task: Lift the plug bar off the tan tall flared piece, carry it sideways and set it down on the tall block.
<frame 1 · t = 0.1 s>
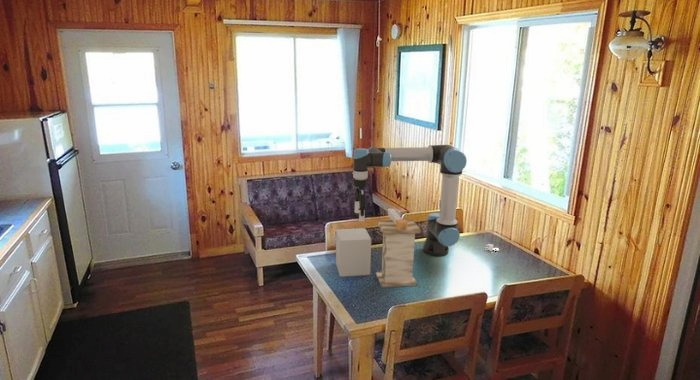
hand: (359, 217, 239), 28 cm above the table, tool pointing down, fingers open, 13 cm apart
tall block: (352, 268, 242), on the table
tan tall flared piece: (396, 280, 231), on the table
teacup and saucer: (493, 253, 267), on the table
plug bar: (396, 221, 227), point 30 cm above the table, touching tan tall flared piece
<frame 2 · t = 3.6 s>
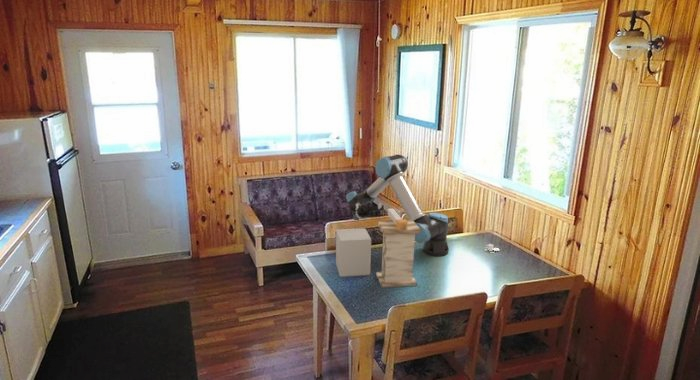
hand: (369, 204, 258), 29 cm above the table, tool pointing upward, fingers open, 13 cm apart
nothing on the table moved.
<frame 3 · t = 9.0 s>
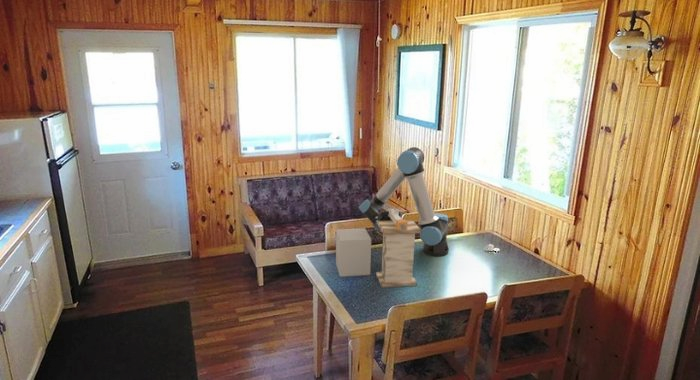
hand: (394, 211, 230), 34 cm above the table, tool pointing upward, fingers closed on plug bar, 3 cm apart
plug bar: (396, 221, 227), point 30 cm above the table, touching gripper, tan tall flared piece
everything else where it was.
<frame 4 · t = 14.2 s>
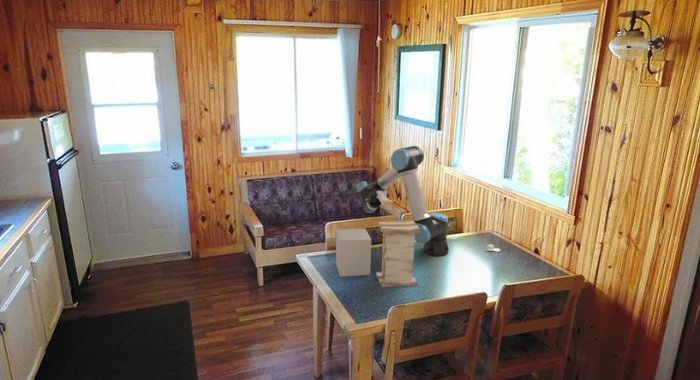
hand: (382, 193, 246), 39 cm above the table, tool pointing upward, fingers closed on plug bar, 3 cm apart
plug bar: (383, 202, 244), point 34 cm above the table, touching gripper
everything else where it was.
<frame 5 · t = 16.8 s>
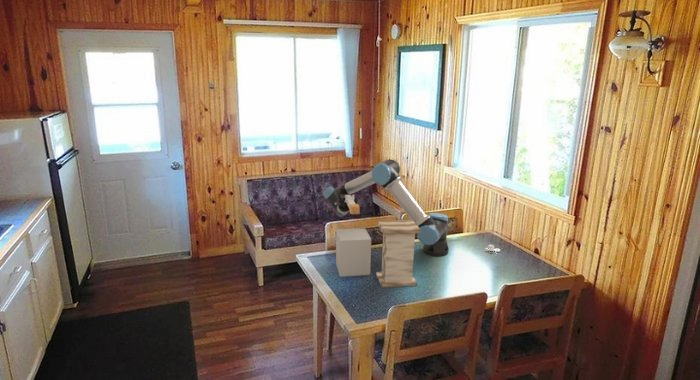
hand: (350, 197, 243), 37 cm above the table, tool pointing upward, fingers closed on plug bar, 3 cm apart
plug bar: (351, 206, 241), point 33 cm above the table, touching gripper
everything else where it was.
when the fingers open (26 cm above the table, at t = 19.4 s): plug bar drops 1 cm, resting on tall block.
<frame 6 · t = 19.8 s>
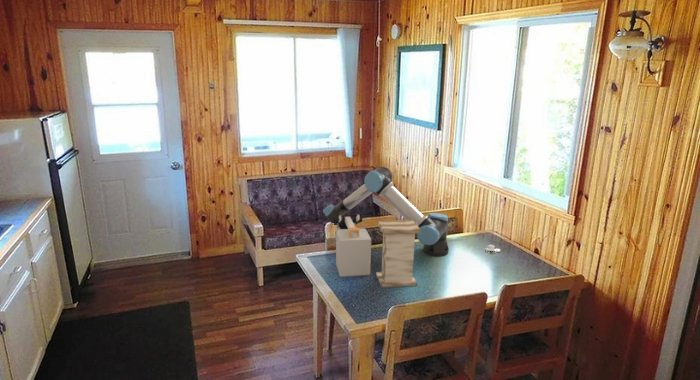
hand: (349, 217, 247), 25 cm above the table, tool pointing upward, fingers open, 9 cm apart
plug bar: (350, 229, 244), point 20 cm above the table, touching tall block
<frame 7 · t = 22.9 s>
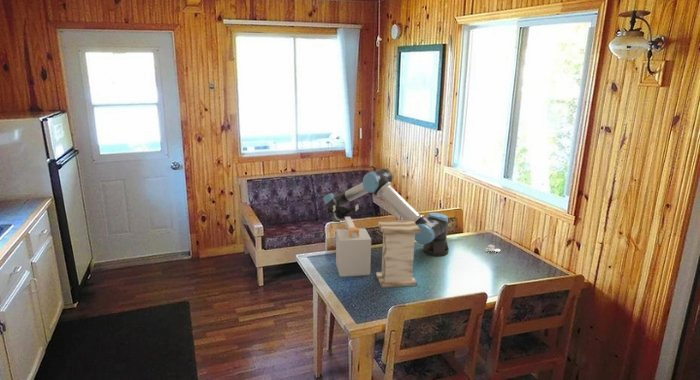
hand: (346, 206, 260), 27 cm above the table, tool pointing upward, fingers open, 13 cm apart
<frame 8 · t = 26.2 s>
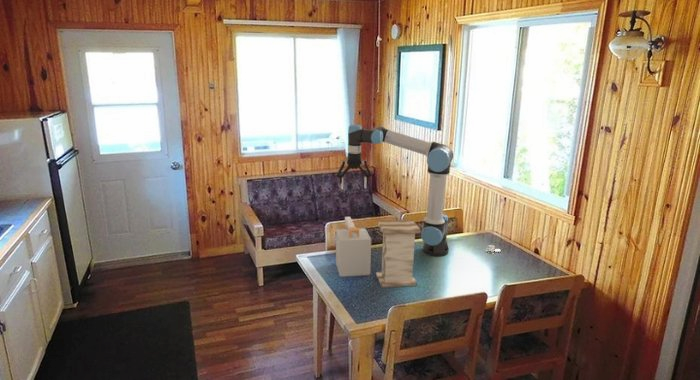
hand: (353, 188, 261), 37 cm above the table, tool pointing down, fingers open, 13 cm apart
at the end: plug bar inside the target area (1.1 cm from its centre), point 20.0 cm above the table; plug bar touching tall block; the gripper is holding nothing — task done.
